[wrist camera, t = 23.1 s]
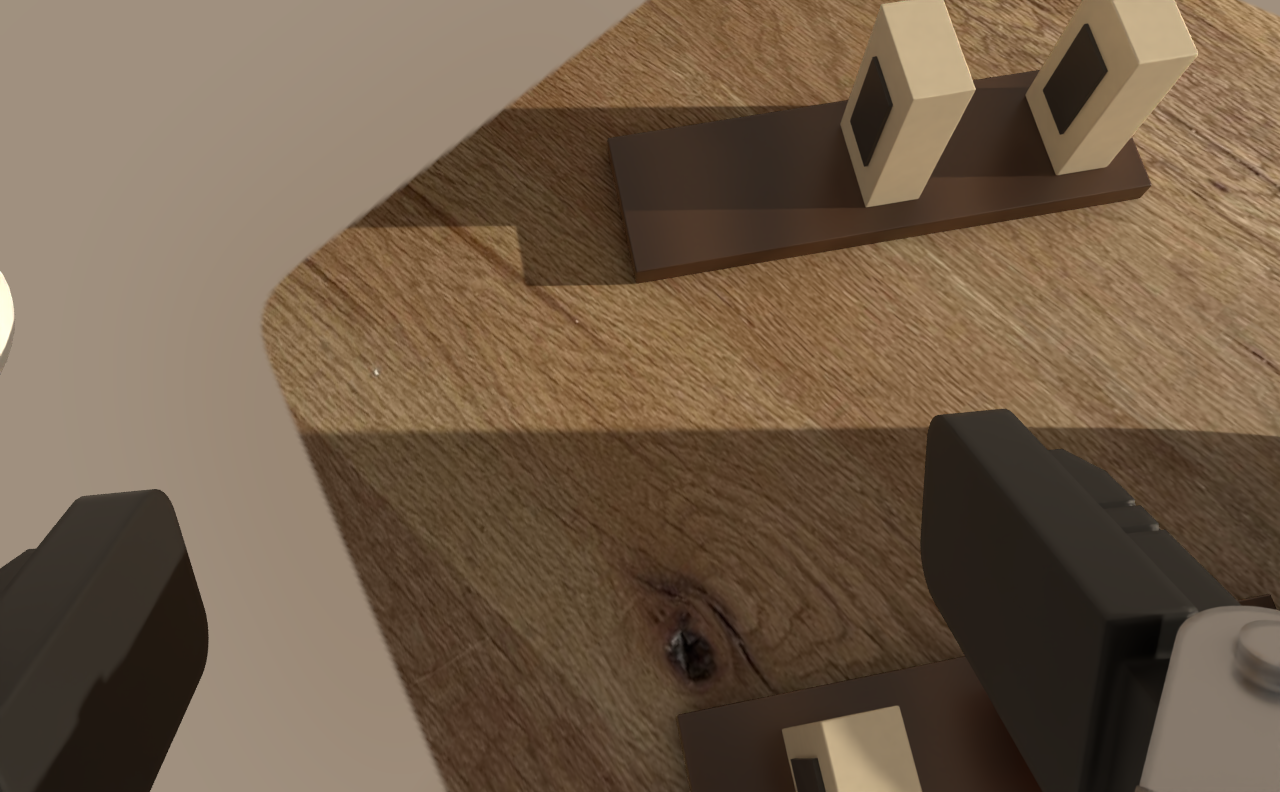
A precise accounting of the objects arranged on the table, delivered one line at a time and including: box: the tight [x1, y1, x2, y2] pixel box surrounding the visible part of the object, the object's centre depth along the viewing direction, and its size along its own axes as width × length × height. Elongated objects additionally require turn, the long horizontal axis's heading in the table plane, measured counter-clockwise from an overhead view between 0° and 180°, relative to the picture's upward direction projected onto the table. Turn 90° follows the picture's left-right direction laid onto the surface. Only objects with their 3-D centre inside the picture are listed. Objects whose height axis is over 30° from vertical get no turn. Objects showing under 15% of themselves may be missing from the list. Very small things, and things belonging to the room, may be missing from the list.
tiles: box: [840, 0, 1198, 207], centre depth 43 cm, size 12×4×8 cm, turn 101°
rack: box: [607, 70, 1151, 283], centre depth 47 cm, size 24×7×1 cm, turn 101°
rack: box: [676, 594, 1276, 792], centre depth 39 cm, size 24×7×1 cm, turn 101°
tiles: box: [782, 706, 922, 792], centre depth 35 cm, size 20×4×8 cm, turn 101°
